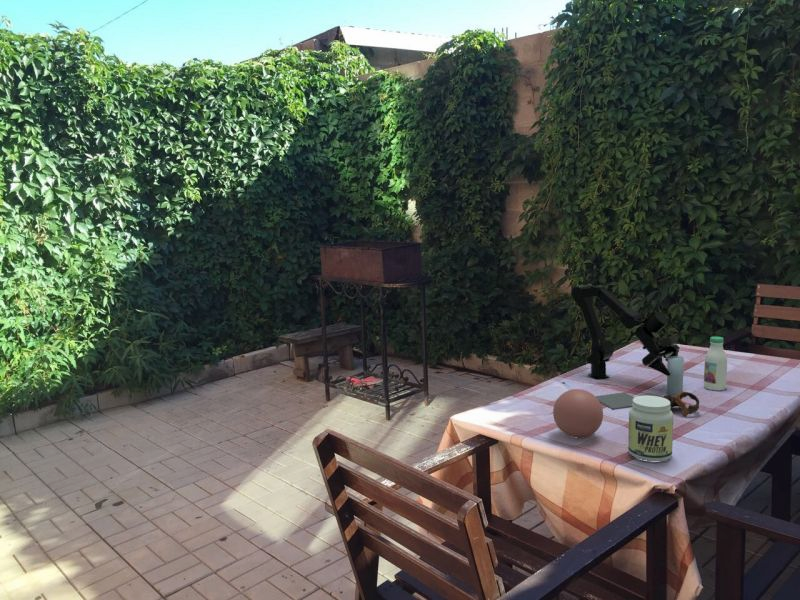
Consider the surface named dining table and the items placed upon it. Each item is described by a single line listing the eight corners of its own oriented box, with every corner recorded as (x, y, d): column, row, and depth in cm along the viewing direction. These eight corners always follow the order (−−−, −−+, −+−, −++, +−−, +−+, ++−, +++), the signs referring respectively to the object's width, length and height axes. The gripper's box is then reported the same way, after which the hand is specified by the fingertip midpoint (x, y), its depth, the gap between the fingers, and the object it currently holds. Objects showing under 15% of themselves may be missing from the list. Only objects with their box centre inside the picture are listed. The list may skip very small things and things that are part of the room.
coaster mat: (591, 397, 242) (591, 396, 242) (624, 393, 245) (624, 392, 245) (612, 409, 228) (612, 408, 228) (646, 404, 232) (646, 403, 232)
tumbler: (663, 392, 245) (664, 356, 242) (676, 390, 246) (677, 355, 244) (673, 396, 239) (674, 360, 237) (685, 394, 241) (687, 358, 238)
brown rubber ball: (615, 428, 211) (615, 383, 208) (591, 449, 195) (592, 401, 193) (570, 420, 220) (570, 377, 218) (545, 439, 205) (544, 393, 202)
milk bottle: (721, 384, 250) (723, 335, 247) (729, 391, 243) (731, 339, 239) (700, 385, 251) (702, 335, 248) (708, 391, 244) (710, 340, 240)
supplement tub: (631, 463, 185) (632, 407, 182) (625, 446, 196) (626, 393, 194) (676, 465, 182) (678, 408, 179) (667, 448, 194) (669, 394, 191)
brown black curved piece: (691, 408, 228) (700, 392, 223) (693, 428, 221) (703, 412, 216) (657, 399, 230) (665, 383, 225) (658, 418, 223) (666, 402, 217)
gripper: (650, 331, 237) (678, 365, 230) (675, 323, 248) (702, 355, 242) (630, 349, 244) (657, 382, 237) (655, 340, 256) (682, 372, 249)
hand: (675, 372), depth 241 cm, fingers open, 9 cm apart
